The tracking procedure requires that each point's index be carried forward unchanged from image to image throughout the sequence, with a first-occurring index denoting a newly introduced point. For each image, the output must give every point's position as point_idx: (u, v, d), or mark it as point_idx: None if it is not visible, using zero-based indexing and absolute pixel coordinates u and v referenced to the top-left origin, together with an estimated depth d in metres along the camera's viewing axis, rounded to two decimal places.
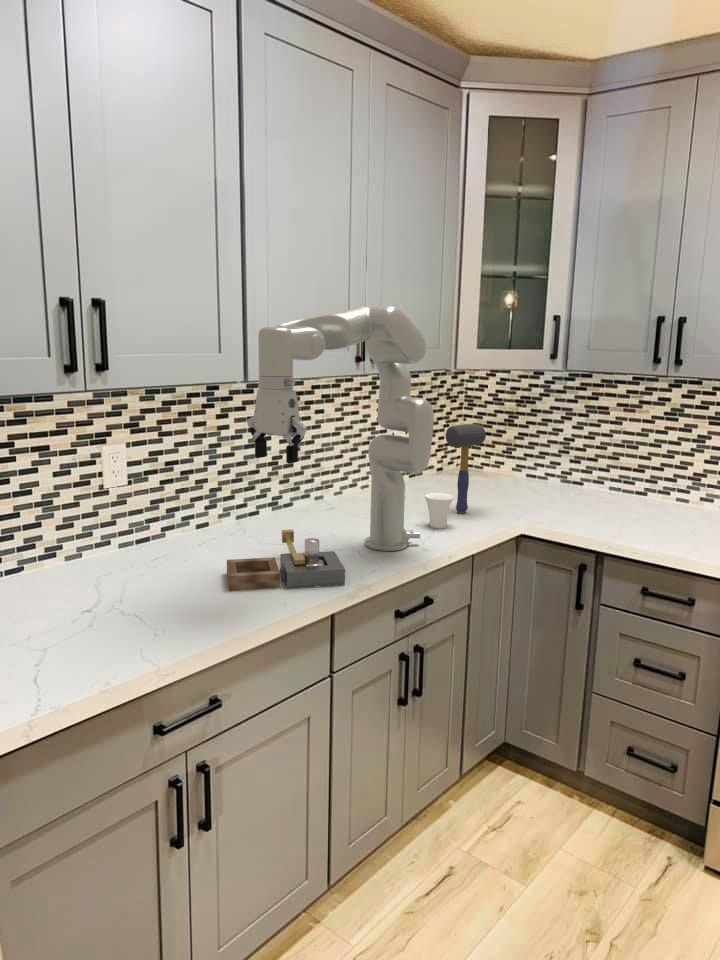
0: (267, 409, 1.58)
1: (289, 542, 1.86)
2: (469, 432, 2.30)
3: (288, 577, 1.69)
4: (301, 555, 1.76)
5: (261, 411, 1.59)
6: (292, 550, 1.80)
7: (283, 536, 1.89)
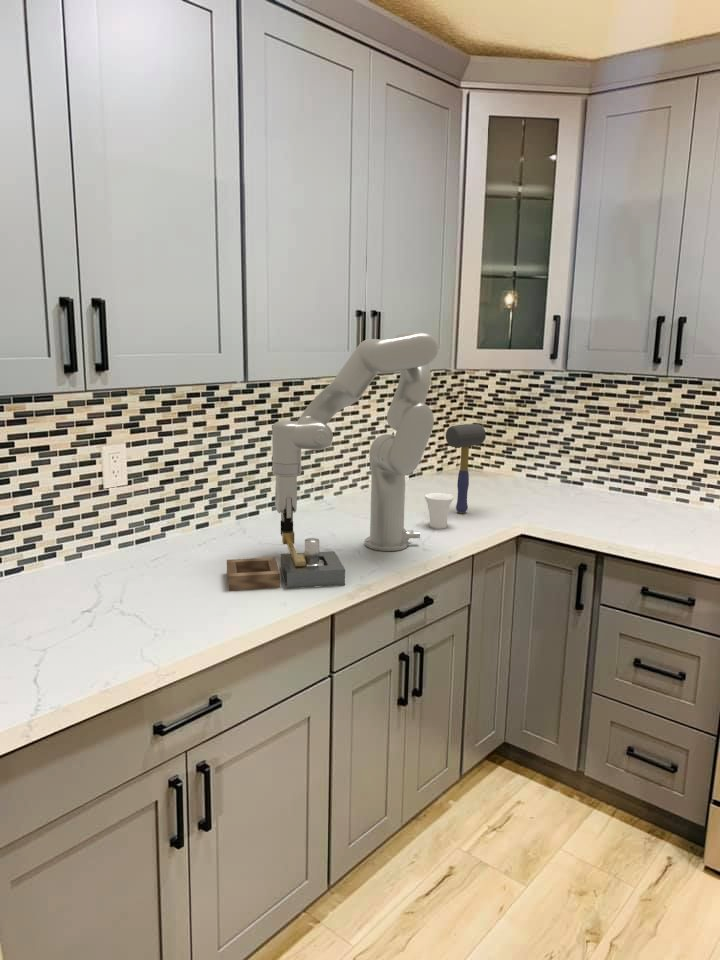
0: None
1: (290, 543, 1.85)
2: (469, 432, 2.30)
3: (288, 577, 1.69)
4: (302, 557, 1.75)
5: None
6: (293, 552, 1.78)
7: (284, 537, 1.88)
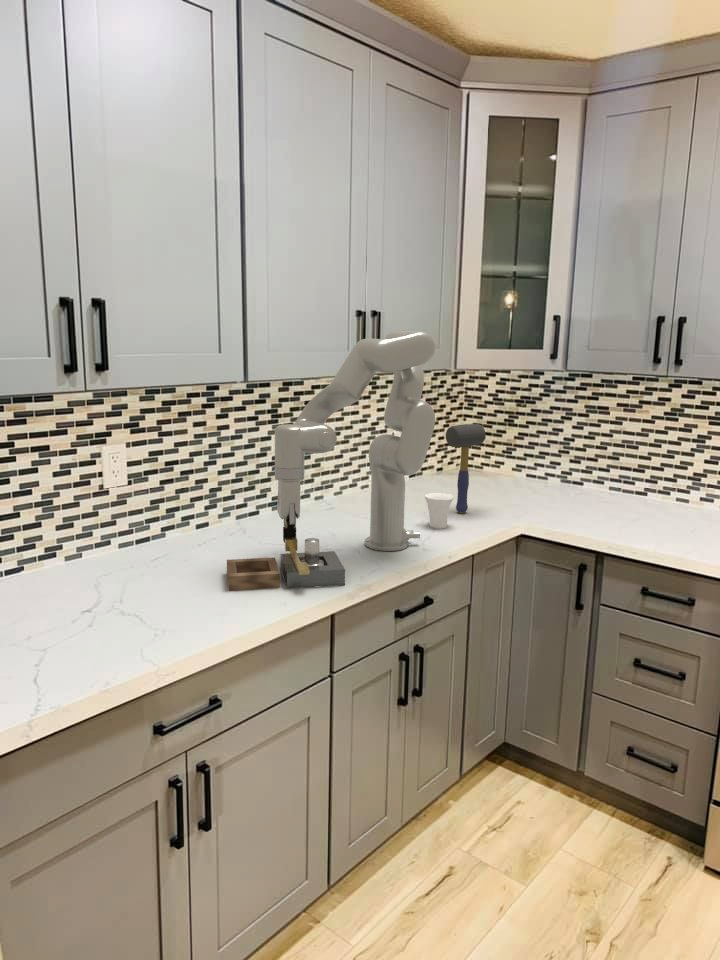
0: None
1: (293, 551, 1.79)
2: (469, 432, 2.30)
3: (288, 577, 1.69)
4: (305, 565, 1.69)
5: None
6: (296, 559, 1.73)
7: (286, 544, 1.82)
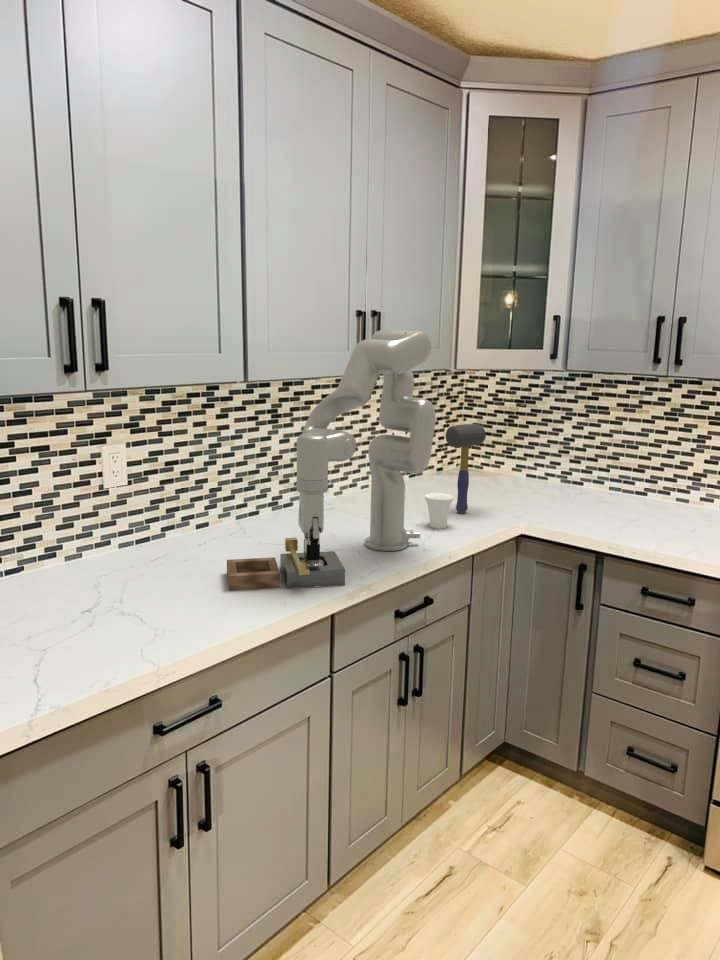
0: None
1: (293, 551, 1.79)
2: (469, 432, 2.30)
3: (288, 577, 1.69)
4: (305, 565, 1.69)
5: None
6: (296, 559, 1.73)
7: (286, 544, 1.82)
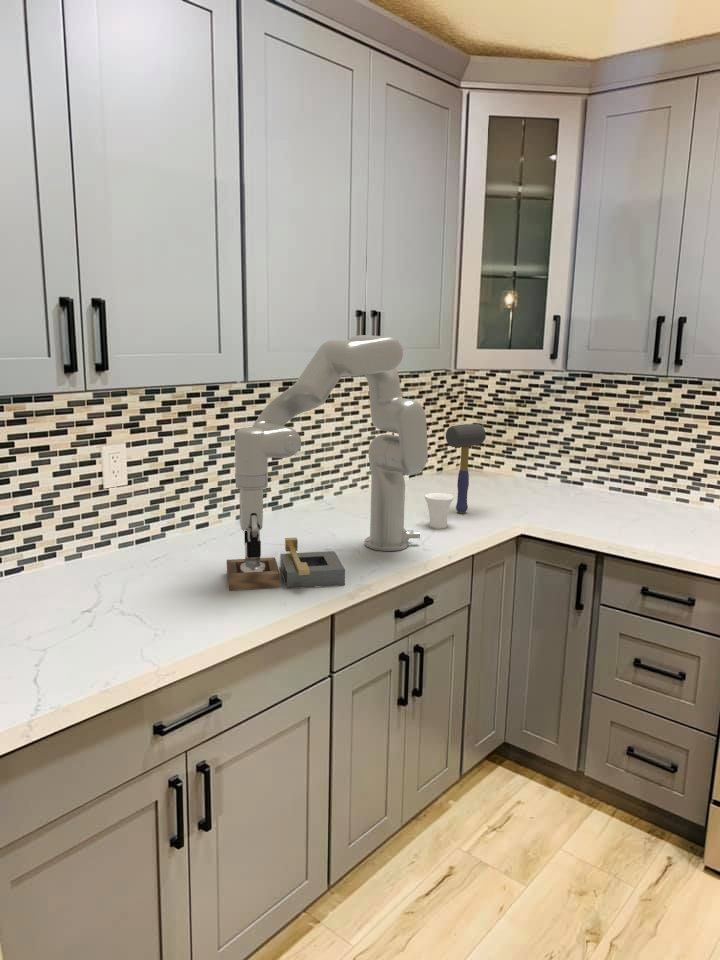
0: None
1: (293, 551, 1.79)
2: (469, 432, 2.30)
3: (288, 577, 1.69)
4: (305, 565, 1.69)
5: None
6: (296, 559, 1.73)
7: (286, 544, 1.82)
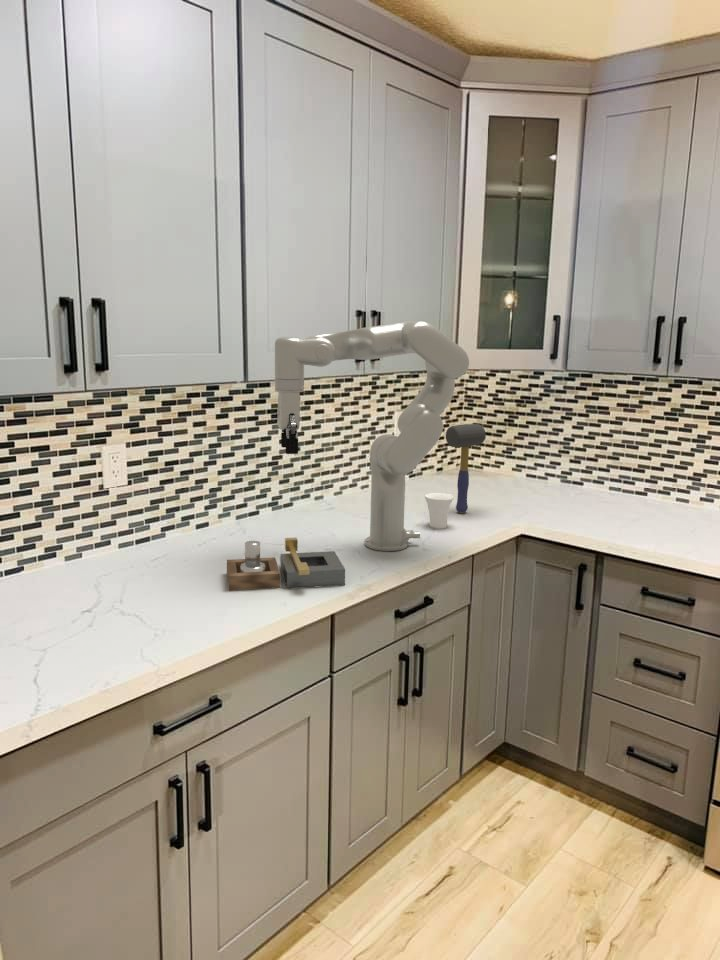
0: None
1: (293, 551, 1.79)
2: (469, 432, 2.30)
3: (288, 577, 1.69)
4: (305, 565, 1.69)
5: None
6: (296, 559, 1.73)
7: (286, 544, 1.82)
